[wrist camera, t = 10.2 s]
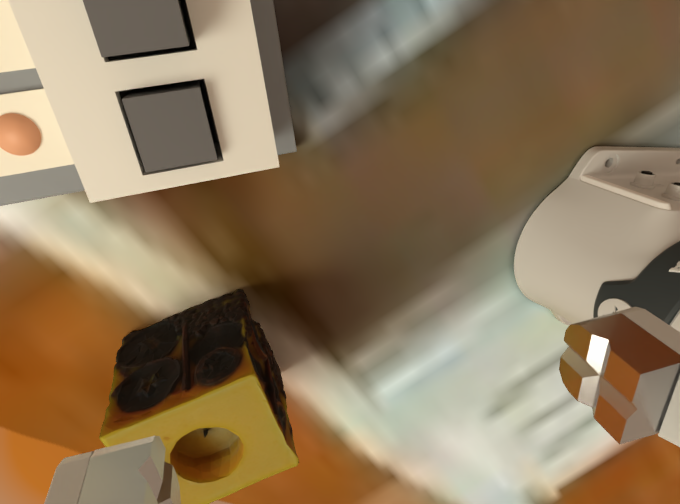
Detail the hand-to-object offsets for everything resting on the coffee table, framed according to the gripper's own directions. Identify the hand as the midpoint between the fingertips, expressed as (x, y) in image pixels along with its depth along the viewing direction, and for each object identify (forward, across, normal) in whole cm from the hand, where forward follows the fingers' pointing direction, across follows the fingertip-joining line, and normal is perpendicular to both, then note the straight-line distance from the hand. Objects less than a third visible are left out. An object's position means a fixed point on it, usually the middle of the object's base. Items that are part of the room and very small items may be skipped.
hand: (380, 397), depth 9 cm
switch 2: (+24, +5, -2) cm, 24 cm away
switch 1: (+23, +5, -8) cm, 24 cm away
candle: (+26, +8, +18) cm, 32 cm away
